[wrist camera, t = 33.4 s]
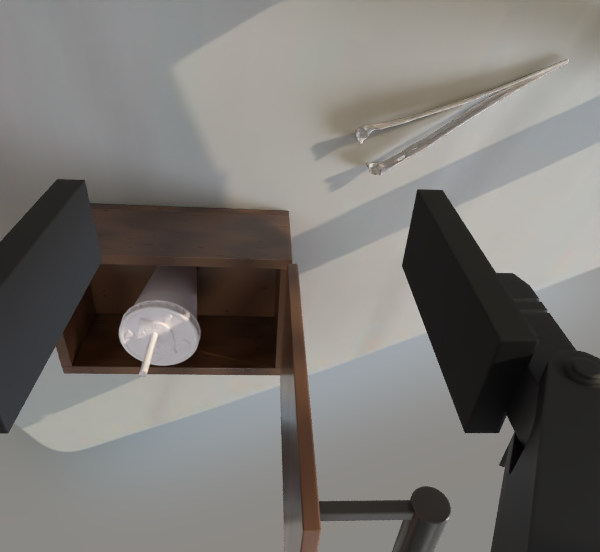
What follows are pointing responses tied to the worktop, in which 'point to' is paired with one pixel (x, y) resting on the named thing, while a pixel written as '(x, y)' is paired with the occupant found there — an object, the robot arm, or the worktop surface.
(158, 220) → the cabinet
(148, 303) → the smoothie
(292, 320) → the wooden panel
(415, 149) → the tweezers
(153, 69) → the worktop surface
